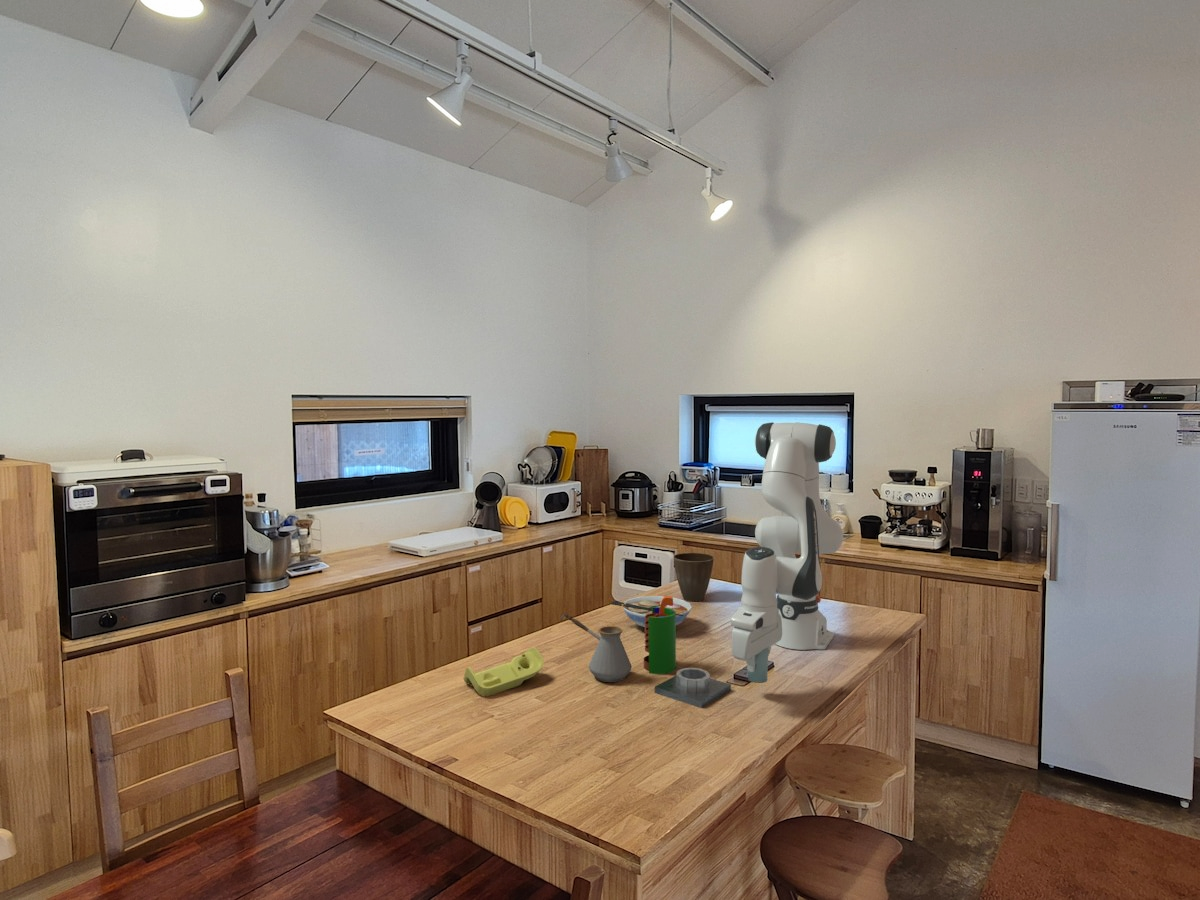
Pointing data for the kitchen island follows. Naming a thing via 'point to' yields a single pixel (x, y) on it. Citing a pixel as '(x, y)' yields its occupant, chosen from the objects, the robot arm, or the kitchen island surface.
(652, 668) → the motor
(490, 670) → the plastic component
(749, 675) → the capped teal cylinder
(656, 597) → the ramen bowl
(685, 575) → the plant pot
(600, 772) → the kitchen island surface
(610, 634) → the coffee pot
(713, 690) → the motor mount
